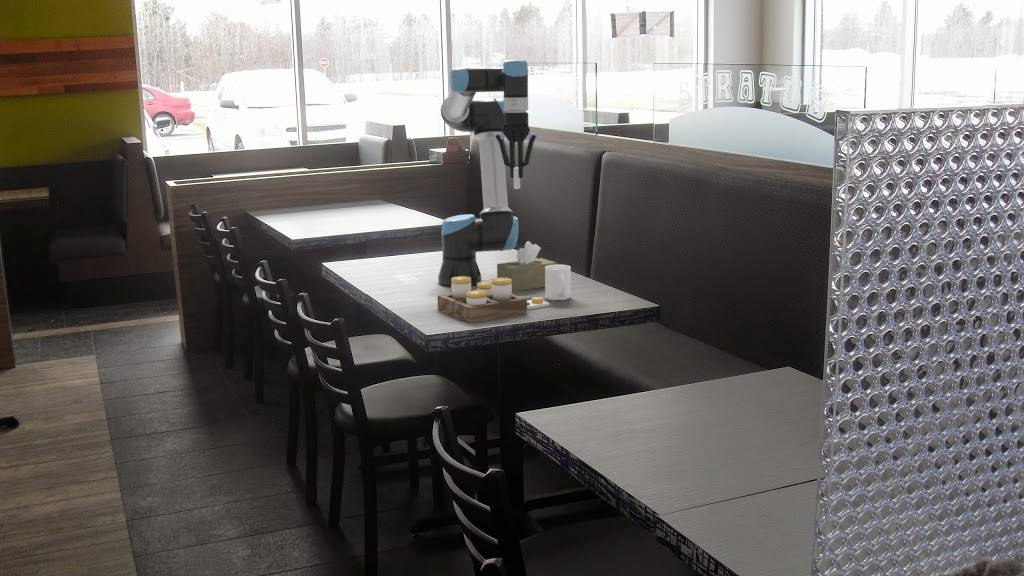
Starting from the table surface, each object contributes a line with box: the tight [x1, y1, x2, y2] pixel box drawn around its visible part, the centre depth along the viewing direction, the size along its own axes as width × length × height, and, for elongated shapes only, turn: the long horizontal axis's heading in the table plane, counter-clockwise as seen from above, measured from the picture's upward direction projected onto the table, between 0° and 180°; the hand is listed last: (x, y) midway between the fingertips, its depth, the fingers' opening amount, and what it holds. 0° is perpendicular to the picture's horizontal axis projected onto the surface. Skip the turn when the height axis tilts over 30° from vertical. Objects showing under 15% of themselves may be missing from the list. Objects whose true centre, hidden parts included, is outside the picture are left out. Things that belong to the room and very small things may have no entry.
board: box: [437, 289, 528, 324], centre depth 302 cm, size 20×20×5 cm
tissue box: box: [496, 240, 558, 292], centre depth 336 cm, size 19×10×16 cm, turn 120°
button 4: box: [491, 277, 513, 301], centre depth 299 cm, size 6×6×6 cm
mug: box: [544, 264, 572, 301], centre depth 316 cm, size 12×8×10 cm
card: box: [522, 295, 550, 311], centre depth 310 cm, size 12×10×2 cm
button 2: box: [466, 289, 487, 306], centre depth 295 cm, size 6×6×6 cm
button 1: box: [451, 276, 472, 300], centre depth 302 cm, size 6×6×6 cm
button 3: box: [476, 281, 492, 296], centre depth 307 cm, size 6×6×6 cm
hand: (517, 188), depth 306 cm, fingers closed
